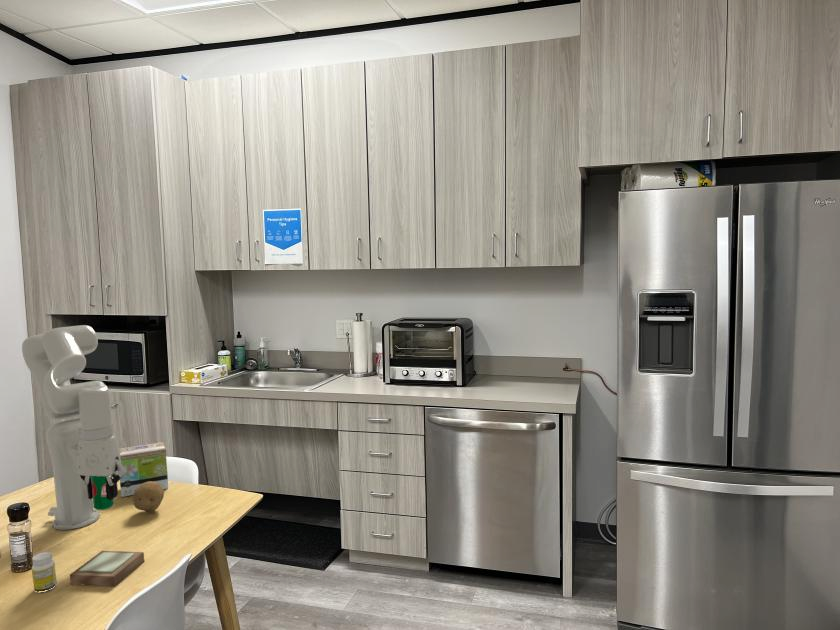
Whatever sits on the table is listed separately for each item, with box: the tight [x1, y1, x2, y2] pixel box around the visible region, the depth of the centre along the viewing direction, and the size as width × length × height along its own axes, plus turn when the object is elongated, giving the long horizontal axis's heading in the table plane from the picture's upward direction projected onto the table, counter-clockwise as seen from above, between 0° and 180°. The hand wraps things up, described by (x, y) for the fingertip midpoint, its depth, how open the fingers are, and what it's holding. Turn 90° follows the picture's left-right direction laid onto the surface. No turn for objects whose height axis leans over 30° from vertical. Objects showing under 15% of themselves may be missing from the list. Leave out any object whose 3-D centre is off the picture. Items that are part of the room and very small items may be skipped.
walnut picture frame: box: [69, 550, 145, 588], centre depth 153 cm, size 12×12×3 cm
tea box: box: [119, 441, 169, 498], centre depth 209 cm, size 15×10×15 cm, turn 117°
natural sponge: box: [132, 481, 165, 514], centre depth 188 cm, size 9×9×10 cm
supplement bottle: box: [31, 551, 58, 592], centre depth 146 cm, size 5×5×8 cm
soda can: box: [91, 475, 115, 511], centre depth 162 cm, size 5×5×12 cm
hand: (103, 496), depth 162 cm, fingers closed on soda can, 5 cm apart
